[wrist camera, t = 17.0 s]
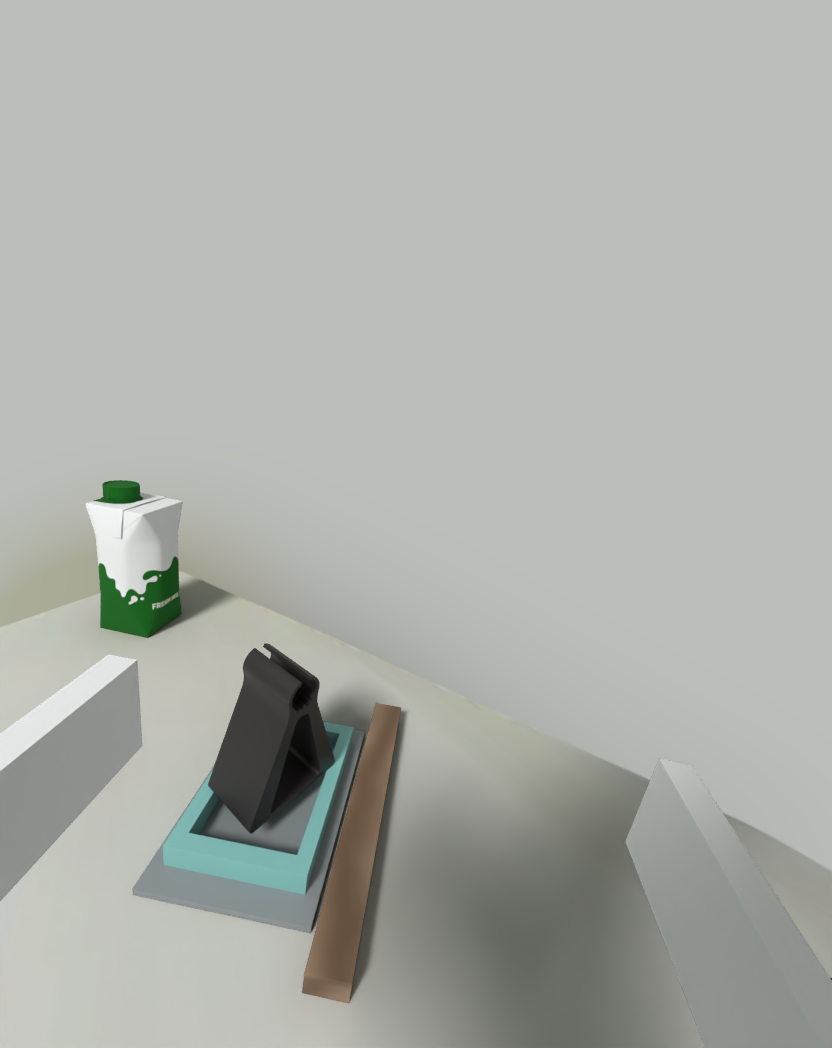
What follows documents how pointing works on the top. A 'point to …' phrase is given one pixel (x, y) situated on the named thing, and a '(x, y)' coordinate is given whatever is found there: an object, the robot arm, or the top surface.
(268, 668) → the phone stand
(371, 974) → the top surface
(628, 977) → the top surface
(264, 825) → the cradle
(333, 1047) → the top surface
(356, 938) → the strip
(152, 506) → the milk carton
